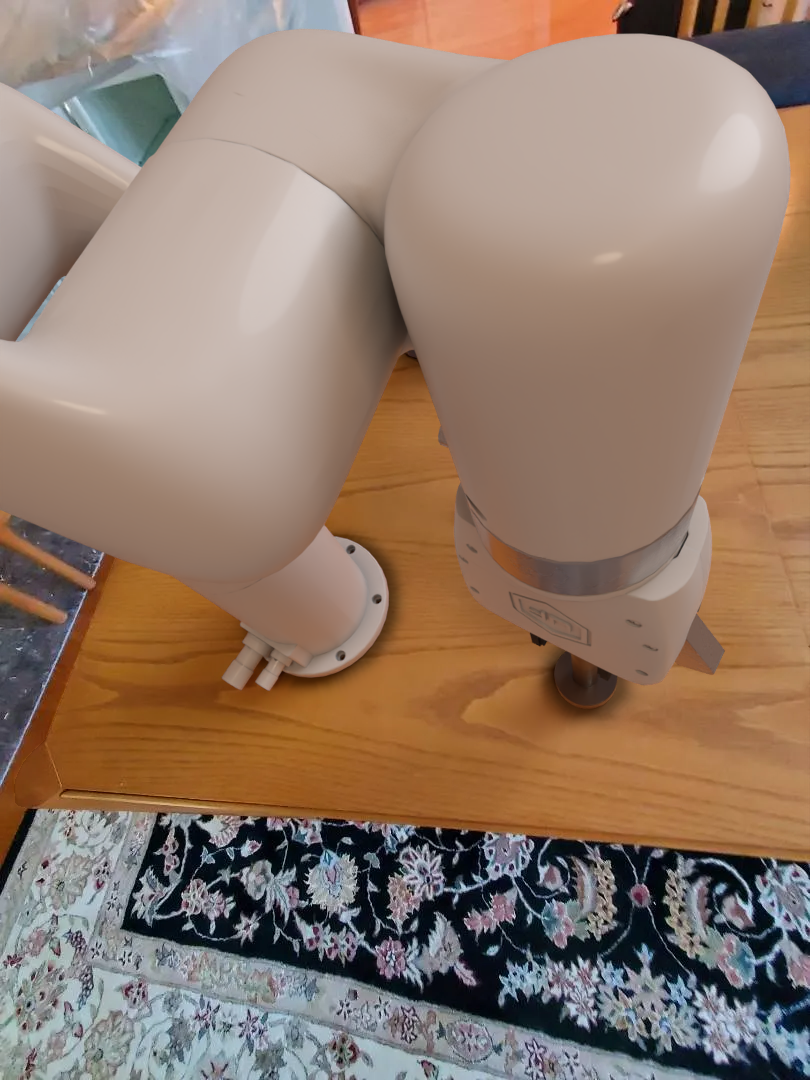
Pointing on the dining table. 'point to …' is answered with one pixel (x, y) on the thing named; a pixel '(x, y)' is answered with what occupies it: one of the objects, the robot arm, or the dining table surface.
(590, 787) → the dining table surface
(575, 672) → the muddler
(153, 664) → the dining table surface
